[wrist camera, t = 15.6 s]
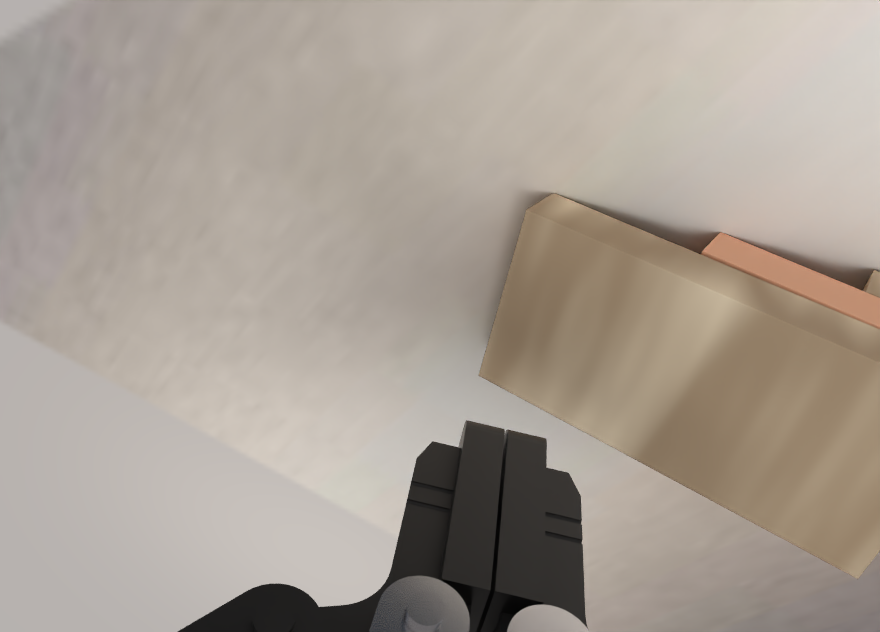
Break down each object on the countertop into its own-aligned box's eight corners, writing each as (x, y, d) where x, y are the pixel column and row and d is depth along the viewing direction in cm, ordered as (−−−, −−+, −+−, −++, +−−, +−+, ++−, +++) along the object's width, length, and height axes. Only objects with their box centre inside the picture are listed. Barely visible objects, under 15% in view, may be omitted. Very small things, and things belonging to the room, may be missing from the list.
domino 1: (553, 193, 19) (985, 373, 15) (505, 351, 22) (863, 536, 18) (526, 209, 18) (988, 410, 14) (478, 375, 20) (857, 578, 17)
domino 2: (632, 411, 20) (1046, 631, 17) (702, 250, 18) (1215, 470, 14) (652, 385, 22) (1042, 586, 18) (720, 232, 19) (1196, 429, 15)
